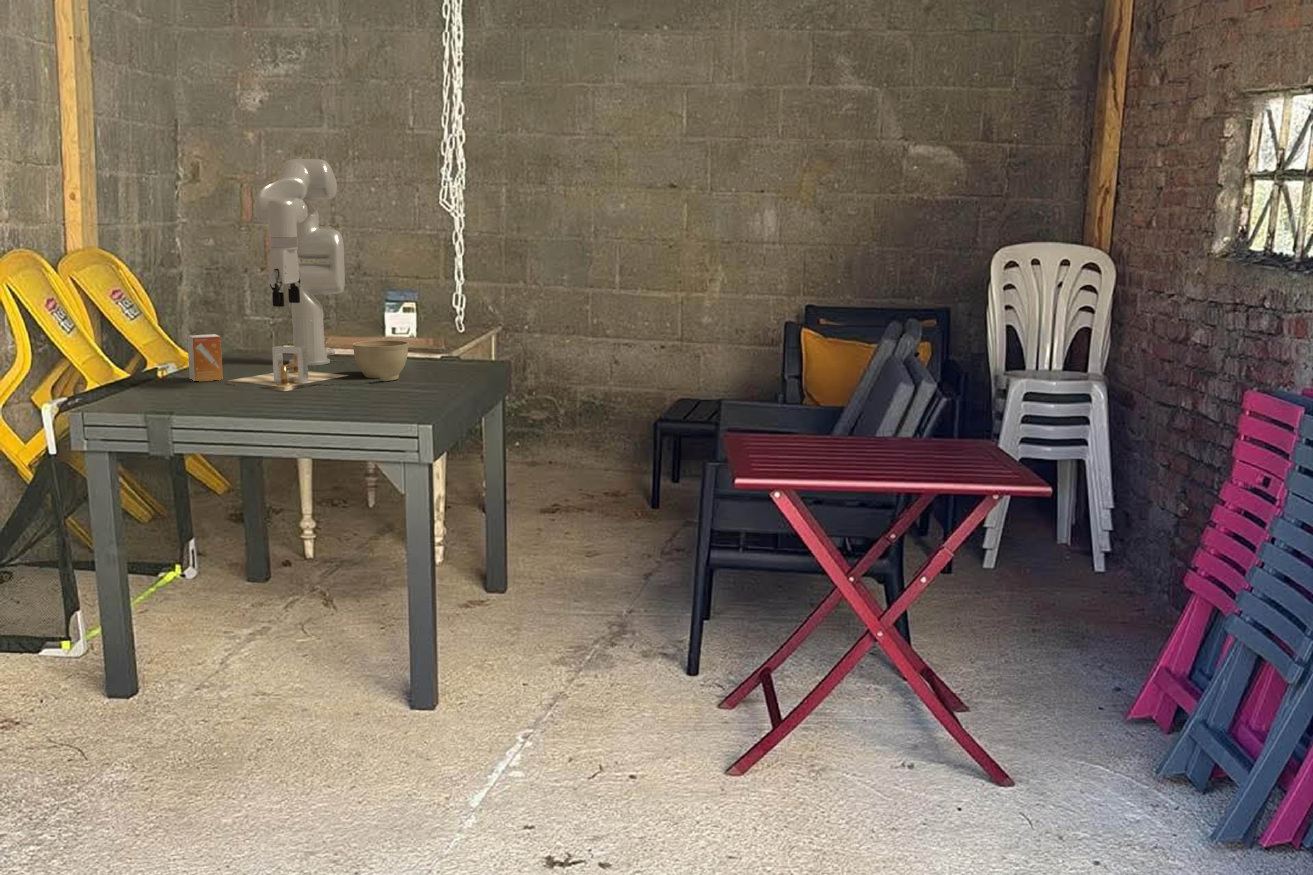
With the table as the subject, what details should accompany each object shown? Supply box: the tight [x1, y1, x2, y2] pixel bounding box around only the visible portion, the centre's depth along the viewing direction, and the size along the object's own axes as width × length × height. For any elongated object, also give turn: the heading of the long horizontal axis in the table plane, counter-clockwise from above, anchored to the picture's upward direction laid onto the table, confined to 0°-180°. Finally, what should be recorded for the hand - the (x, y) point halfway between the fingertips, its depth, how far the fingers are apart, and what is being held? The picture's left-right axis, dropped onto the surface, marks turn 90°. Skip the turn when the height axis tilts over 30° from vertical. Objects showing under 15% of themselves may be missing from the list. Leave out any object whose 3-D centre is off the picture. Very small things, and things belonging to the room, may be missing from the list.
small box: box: [186, 333, 224, 382], centre depth 372 cm, size 8×6×13 cm
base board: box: [227, 370, 350, 392], centre depth 371 cm, size 26×22×1 cm
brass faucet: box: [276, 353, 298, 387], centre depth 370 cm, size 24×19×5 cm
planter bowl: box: [352, 339, 410, 382], centre depth 376 cm, size 16×16×11 cm
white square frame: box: [271, 345, 309, 385], centre depth 361 cm, size 3×9×10 cm, turn 79°
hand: (286, 304), depth 363 cm, fingers open, 9 cm apart
